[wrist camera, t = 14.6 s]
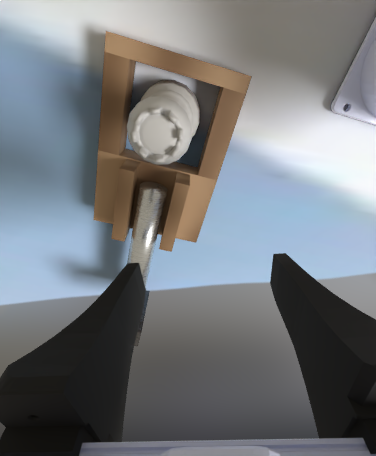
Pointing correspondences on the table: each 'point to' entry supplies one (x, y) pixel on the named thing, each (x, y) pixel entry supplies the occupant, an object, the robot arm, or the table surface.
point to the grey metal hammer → (146, 232)
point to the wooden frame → (146, 171)
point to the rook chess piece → (164, 122)
